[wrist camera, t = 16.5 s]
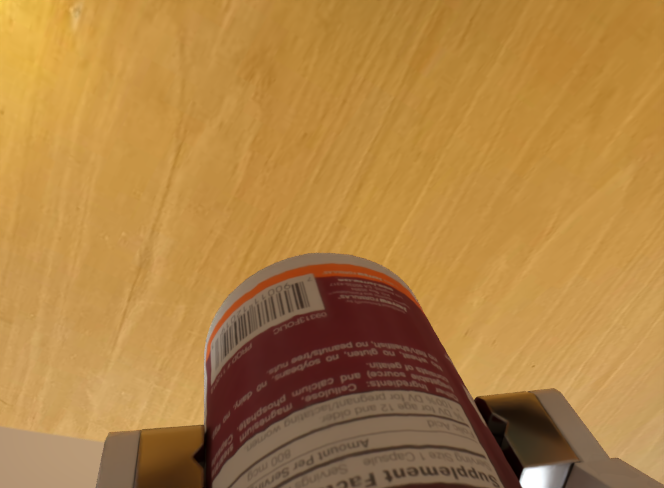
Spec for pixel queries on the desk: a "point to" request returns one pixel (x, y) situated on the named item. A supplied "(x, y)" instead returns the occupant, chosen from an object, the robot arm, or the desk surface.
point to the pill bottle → (337, 387)
